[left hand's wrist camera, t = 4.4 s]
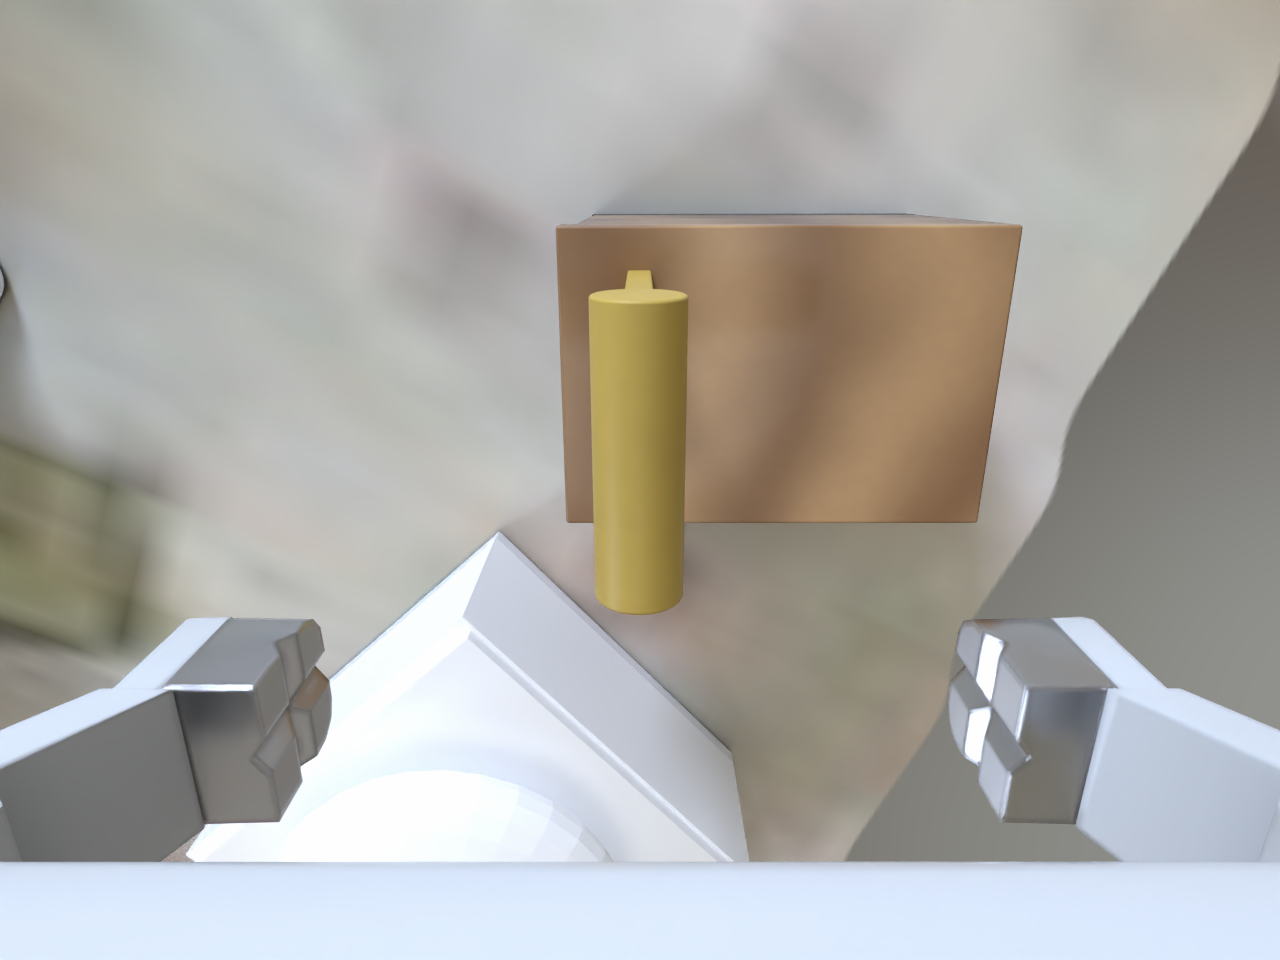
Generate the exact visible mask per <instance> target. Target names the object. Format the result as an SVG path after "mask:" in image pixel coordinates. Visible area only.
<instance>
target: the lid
mask: <svg viewBox="0 0 1280 960" xmlns="http://www.w3.org/2000/svg"><path fill="white" fill-rule="evenodd" d="M1021 234H1022V226H1021V225H1015V224H562V225H559V226H557V227H556V244H557V272H558V300H559V328H560V356H561V384H562V412H563V440H564V467H565V495H566V520H567V522H568V523H594V558H595V595H596V597H597V599H598V601H599V602H600V603H601V604H602V605H603V606H604V607H606V608H608V609H610V610H613V611H615V612H619V613H624V614H631V615H647V614H654V613H659V612H662V611H665V610H668V609H670V608H672V607H674V606H675V605H676V604H677V603H678V602H679V601H680V599H681V598H682V595H683V563H684V523H975V522H977V518H978V511H979V505H980V498H981V492H982V486H983V479H984V473H985V466H986V460H987V453H988V447H989V440H990V434H991V428H992V421H993V415H994V408H995V402H996V395H997V389H998V382H999V376H1000V369H1001V363H1002V357H1003V350H1004V344H1005V337H1006V331H1007V324H1008V318H1009V311H1010V305H1011V299H1012V292H1013V286H1014V279H1015V273H1016V266H1017V260H1018V253H1019V247H1020V241H1021Z"/></svg>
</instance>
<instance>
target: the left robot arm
mask: <svg viewBox="0 0 1280 960" xmlns="http://www.w3.org/2000/svg"><path fill="white" fill-rule="evenodd" d="M3 290H4V279H3V275H2V272H1V269H0V298H1V296H2V293H3ZM324 651H325V649H324V644H323V639H322V634H321V628H320V626H319V625H318V624H317V623H316V622H315V621H314V620H313V619H275V618H232V617H210V618H193V619H187V620H186V621H185V622H184V623H182V624H181V625H180V626H179V627H178V628H177V629H176V630H175V631H174V632H173V633H172V634H171V635H170V636H169V637H168V638H166V639H165V640H164V641H163V642H162V643H161V644H160V645H159V646H158V647H157V648H156V649H155V650H154V651H153V652H152V653H150V654H149V655H148V656H147V657H146V658H145V659H144V660H143V661H142V662H141V663H140V664H139V665H138V666H137V667H136V668H134V669H133V670H132V671H131V672H130V673H129V674H128V675H127V676H126V677H125V678H124V679H123V680H122V681H121V682H120V683H118V684H117V685H116V686H115V687H114V688H113V689H98V690H95V691H93V692H91V693H88V694H86V695H83V696H81V697H79V698H76V699H74V700H71V701H69V702H67V703H64V704H62V705H59V706H57V707H55V708H52V709H50V710H47V711H45V712H43V713H40V714H38V715H35V716H33V717H31V718H28V719H26V720H24V721H21V722H19V723H16V724H14V725H12V726H9V727H7V728H4V729H2V730H0V960H1280V730H1278V729H1275V728H1273V727H1271V726H1268V725H1266V724H1263V723H1261V722H1259V721H1256V720H1254V719H1251V718H1249V717H1247V716H1244V715H1242V714H1240V713H1237V712H1235V711H1232V710H1230V709H1228V708H1225V707H1223V706H1221V705H1218V704H1216V703H1213V702H1211V701H1209V700H1206V699H1204V698H1201V697H1199V696H1197V695H1194V694H1192V693H1189V692H1187V691H1185V690H1182V689H1167V688H1166V687H1165V686H1164V685H1163V684H1162V683H1161V682H1160V681H1158V680H1157V679H1156V678H1155V677H1154V676H1153V675H1152V674H1151V673H1150V672H1149V671H1148V670H1147V669H1146V668H1145V667H1144V666H1142V665H1141V664H1140V663H1139V662H1138V661H1137V660H1136V659H1135V658H1134V657H1133V656H1132V655H1131V654H1130V653H1129V652H1127V651H1126V650H1125V649H1124V648H1123V647H1122V646H1121V645H1120V644H1119V643H1118V642H1117V641H1116V640H1115V639H1114V638H1113V637H1112V636H1111V635H1109V634H1108V633H1107V632H1106V631H1105V630H1104V629H1103V628H1102V627H1101V626H1100V625H1099V624H1098V623H1097V622H1096V621H1095V620H1092V619H1089V618H1086V617H1066V618H1023V619H982V620H967V621H963V623H962V626H961V628H960V630H959V632H958V637H957V643H956V649H955V651H956V652H957V654H958V655H959V657H960V658H961V660H962V662H963V663H964V665H965V666H964V667H963V668H962V669H961V670H960V671H959V672H958V674H957V675H956V676H955V677H954V678H953V679H952V680H951V681H950V689H949V697H948V712H949V722H950V728H951V731H952V734H953V737H954V740H955V743H956V745H957V746H958V748H959V750H960V752H961V754H962V756H964V757H965V758H967V759H968V760H970V761H971V762H973V763H975V764H976V765H978V766H979V773H978V779H977V782H978V784H979V786H980V787H981V789H982V791H983V792H984V794H985V796H986V798H987V799H988V801H989V803H990V805H991V806H992V808H993V810H994V811H995V813H996V815H997V817H998V818H999V820H1000V822H1011V823H1047V824H1076V825H1075V828H1076V829H1078V830H1079V831H1080V832H1082V833H1083V834H1084V835H1085V836H1087V837H1088V838H1089V839H1091V840H1092V841H1093V842H1095V843H1096V844H1097V845H1099V846H1100V847H1101V848H1103V849H1104V850H1105V851H1107V852H1108V853H1109V854H1110V855H1112V856H1113V857H1115V858H1116V859H1117V860H1119V861H1120V862H161V861H162V860H163V859H165V858H166V857H167V856H168V855H170V854H171V853H172V852H174V851H175V850H176V849H178V848H179V847H180V846H182V845H183V844H184V843H186V842H187V841H188V840H190V839H191V838H192V837H194V836H195V835H196V834H197V833H199V832H200V831H201V830H203V829H204V828H205V826H204V824H232V823H267V822H280V820H281V819H282V817H283V815H284V813H285V812H286V810H287V808H288V806H289V805H290V803H291V801H292V799H293V798H294V796H295V794H296V793H297V791H298V789H299V787H300V786H301V784H302V782H303V779H302V773H301V766H302V765H304V764H305V763H307V762H309V761H310V760H312V759H313V758H315V757H316V756H318V754H319V752H320V750H321V748H322V746H323V744H324V743H325V741H326V738H327V734H328V730H329V726H330V722H331V717H332V695H331V687H330V681H329V680H328V679H327V678H326V677H325V676H324V675H323V674H322V672H321V671H320V670H319V669H318V668H317V667H316V666H315V665H316V663H317V662H318V660H319V658H320V657H321V655H322V654H323V652H324Z"/></svg>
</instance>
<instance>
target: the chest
mask: <svg viewBox="0 0 1280 960" xmlns="http://www.w3.org/2000/svg"><path fill="white" fill-rule="evenodd" d="M579 224H1005V223H995V222H984V221H974V220H963V219H953V218H942V217H931V216H921V215H915V214H594V215H592V217H590V218H588V219H586V220H584V221H582V222H581V223H579Z"/></svg>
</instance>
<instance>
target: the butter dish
mask: <svg viewBox="0 0 1280 960" xmlns="http://www.w3.org/2000/svg"><path fill="white" fill-rule="evenodd" d="M329 681H330V687H331V695H332V717H331V722H330V726H329V730H328V734H327V738H326V741H325V743H324V744H323V746H322V748H321V750H320V752H319V754H318V756H316V757H315V758H313V759H312V760H310V761H309V762H307V763H305V764H304V765H302V766H301V773H302V779H303V782H302V784H301V786H300V787H299V789H298V791H297V793H296V794H295V796H294V798H293V799H292V801H291V803H290V805H289V806H288V808H287V810H286V812H285V813H284V815H283V817H282V819H281V820H280V822H267V823H232V824H206V826H205V828H204V829H203V830H202V832H201V833H200V835H199V836H198V838H197V839H196V840H195V842H194V843H193V845H192V846H191V848H190V849H189V851H188V852H187V854H186V856H188V857H189V858H191V859H192V860H193V861H195V862H749V857H748V851H747V845H746V839H745V833H744V826H743V820H742V814H741V808H740V802H739V795H738V789H737V783H736V777H735V771H734V764H733V758H732V753H731V752H730V751H729V750H728V749H727V748H726V747H725V746H724V745H723V744H722V743H721V742H720V741H719V740H717V739H716V738H715V737H714V736H713V735H712V734H711V733H710V732H709V731H708V730H707V729H706V728H705V727H704V726H703V725H702V724H701V723H700V722H699V721H698V720H696V719H695V718H694V717H693V716H692V715H691V714H690V713H689V712H688V711H687V710H686V709H685V708H684V707H683V706H682V705H681V704H680V703H679V702H678V701H677V700H676V699H674V698H673V697H672V696H671V695H670V694H669V693H668V692H667V691H666V690H665V689H664V688H663V687H662V686H661V685H660V684H659V683H658V682H657V681H656V680H655V679H654V678H652V677H651V676H650V675H649V674H648V673H647V672H646V671H645V670H644V669H643V668H642V667H641V666H640V665H639V664H638V663H637V662H636V661H635V660H634V659H633V658H631V657H630V656H629V655H628V654H627V653H626V652H625V651H624V650H623V649H622V648H621V647H620V646H619V645H618V644H617V643H616V642H615V641H614V640H613V639H612V638H611V637H609V636H608V635H607V634H606V633H605V632H604V631H603V630H602V629H601V628H600V627H599V626H598V625H597V624H596V623H595V622H594V621H593V620H592V619H591V618H590V617H588V616H587V615H586V614H585V613H584V612H583V611H582V610H581V609H580V608H579V607H578V606H577V605H576V604H575V603H574V602H573V601H572V600H571V599H570V598H569V597H568V596H566V595H565V594H564V593H563V592H562V591H561V590H560V589H559V588H558V587H557V586H556V585H555V584H554V583H553V582H552V581H551V580H550V579H549V578H548V577H547V576H545V575H544V574H543V573H542V572H541V571H540V570H539V569H538V568H537V567H536V566H535V565H534V564H533V563H532V562H531V561H530V560H529V559H528V558H527V557H526V556H525V555H523V554H522V553H521V552H520V551H519V550H518V549H517V548H516V547H515V546H514V545H513V544H512V543H511V542H510V541H509V540H508V539H507V538H506V537H505V536H504V535H503V534H501V533H500V532H498V533H497V534H496V535H495V536H494V537H492V538H491V539H490V540H489V541H488V542H487V543H486V544H484V545H483V546H482V547H481V548H480V549H479V550H478V551H476V552H475V553H474V554H473V555H472V556H471V557H470V558H468V559H467V560H466V561H465V562H464V563H463V564H462V565H460V566H459V567H458V568H457V569H456V570H455V571H454V572H452V573H451V574H450V575H449V576H448V577H447V578H446V579H444V580H443V581H442V582H441V583H440V584H439V585H438V586H436V587H435V588H434V589H433V590H432V591H431V592H430V593H428V594H427V595H426V596H425V597H424V598H423V599H422V600H420V601H419V602H418V603H417V604H416V605H415V606H414V607H412V608H411V609H410V610H409V611H408V612H407V613H406V614H404V615H403V616H402V617H401V618H400V619H399V620H398V621H396V622H395V623H394V624H393V625H392V626H391V627H390V628H388V629H387V630H386V631H385V632H384V633H383V634H382V635H380V636H379V637H378V638H377V639H376V640H375V641H374V642H372V643H371V644H370V645H369V646H368V647H367V648H366V649H364V650H363V651H362V652H361V653H360V654H359V655H358V656H356V657H355V658H354V659H353V660H352V661H351V662H350V663H348V664H347V665H346V666H345V667H344V668H343V669H342V670H340V671H339V672H338V673H337V674H336V675H335V676H334V677H332V678H331V679H330V680H329Z"/></svg>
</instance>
